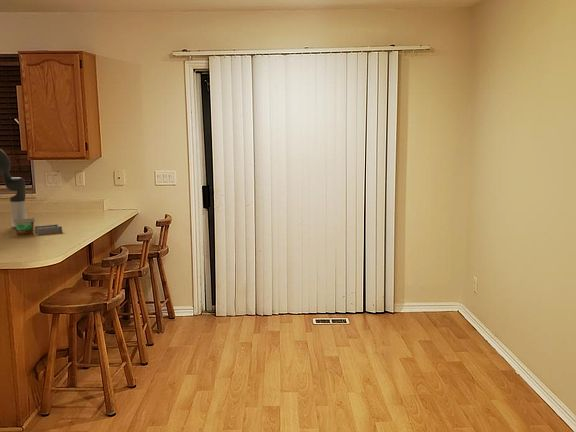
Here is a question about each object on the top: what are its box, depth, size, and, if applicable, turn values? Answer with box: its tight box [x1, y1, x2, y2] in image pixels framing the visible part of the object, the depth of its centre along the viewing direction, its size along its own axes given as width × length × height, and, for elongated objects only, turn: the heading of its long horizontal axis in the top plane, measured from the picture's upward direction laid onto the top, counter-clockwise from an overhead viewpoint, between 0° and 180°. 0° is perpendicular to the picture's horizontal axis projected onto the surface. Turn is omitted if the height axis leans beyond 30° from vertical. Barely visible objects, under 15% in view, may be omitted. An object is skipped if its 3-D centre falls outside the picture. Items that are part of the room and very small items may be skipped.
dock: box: [34, 223, 63, 236], centre depth 376 cm, size 12×14×4 cm
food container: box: [14, 217, 36, 236], centre depth 369 cm, size 12×6×10 cm, turn 101°
